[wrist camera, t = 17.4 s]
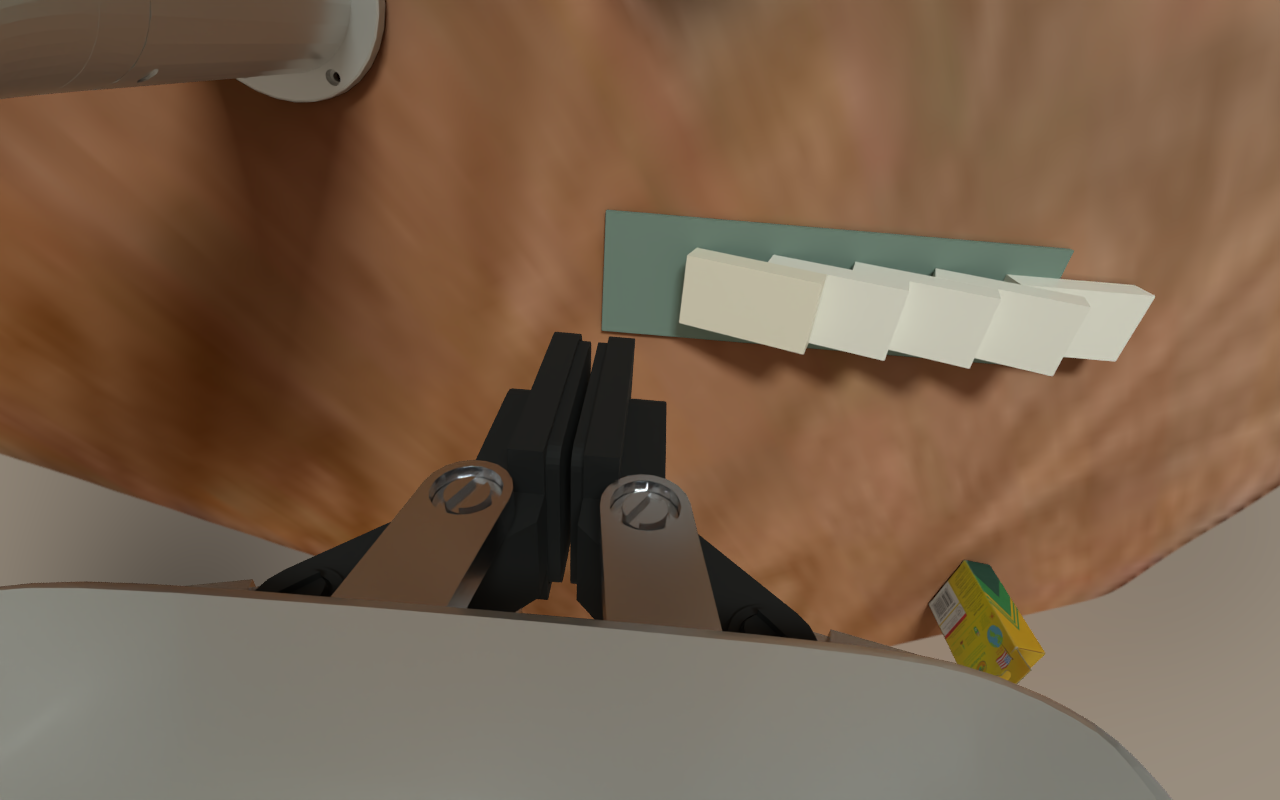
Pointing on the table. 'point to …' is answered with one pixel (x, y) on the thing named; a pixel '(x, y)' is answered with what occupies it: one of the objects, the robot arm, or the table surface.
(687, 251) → the plate
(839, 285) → the domino
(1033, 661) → the crayon box
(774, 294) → the domino
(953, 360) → the domino
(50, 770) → the robot arm
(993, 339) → the domino
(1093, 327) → the domino
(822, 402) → the table surface
